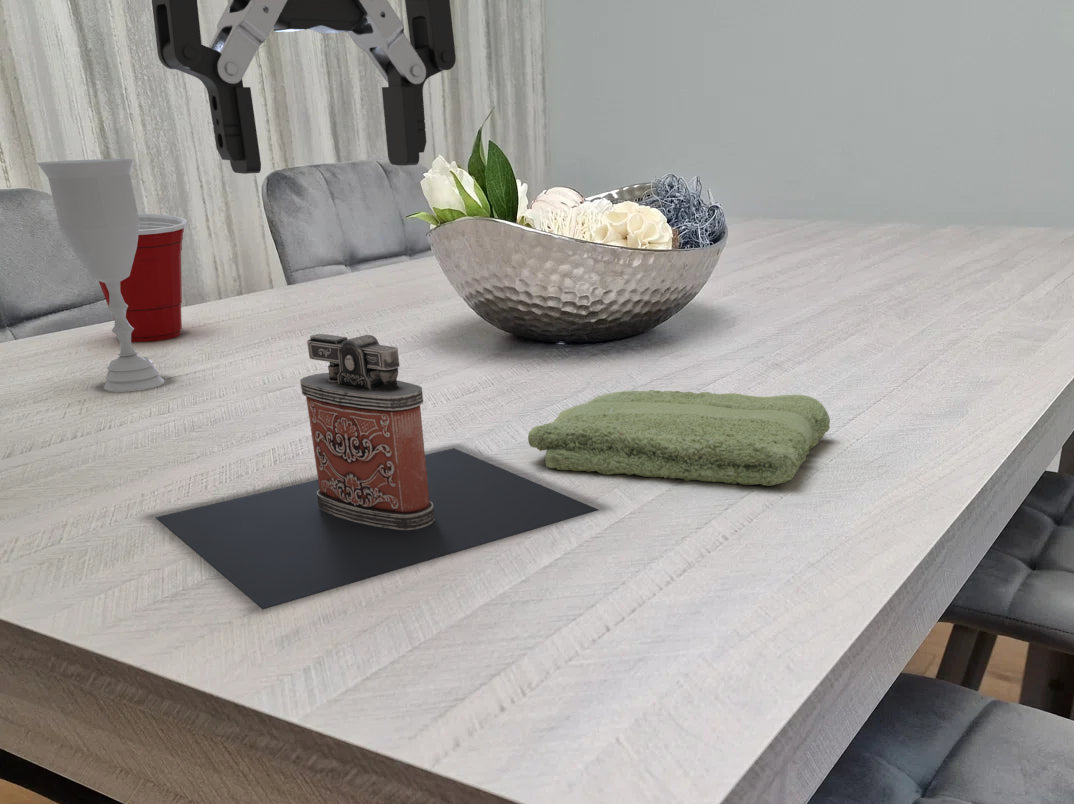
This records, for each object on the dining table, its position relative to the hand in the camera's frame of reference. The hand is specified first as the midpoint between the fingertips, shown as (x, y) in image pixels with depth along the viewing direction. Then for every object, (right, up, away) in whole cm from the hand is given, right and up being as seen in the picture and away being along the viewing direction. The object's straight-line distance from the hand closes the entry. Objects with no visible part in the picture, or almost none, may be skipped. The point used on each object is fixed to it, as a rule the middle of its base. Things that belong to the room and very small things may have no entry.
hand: (328, 168), depth 53 cm
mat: (+1, -17, +7) cm, 19 cm away
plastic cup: (-33, +6, +57) cm, 66 cm away
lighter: (+1, -17, +7) cm, 19 cm away
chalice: (-27, -3, +38) cm, 46 cm away
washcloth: (+19, -12, +17) cm, 28 cm away
